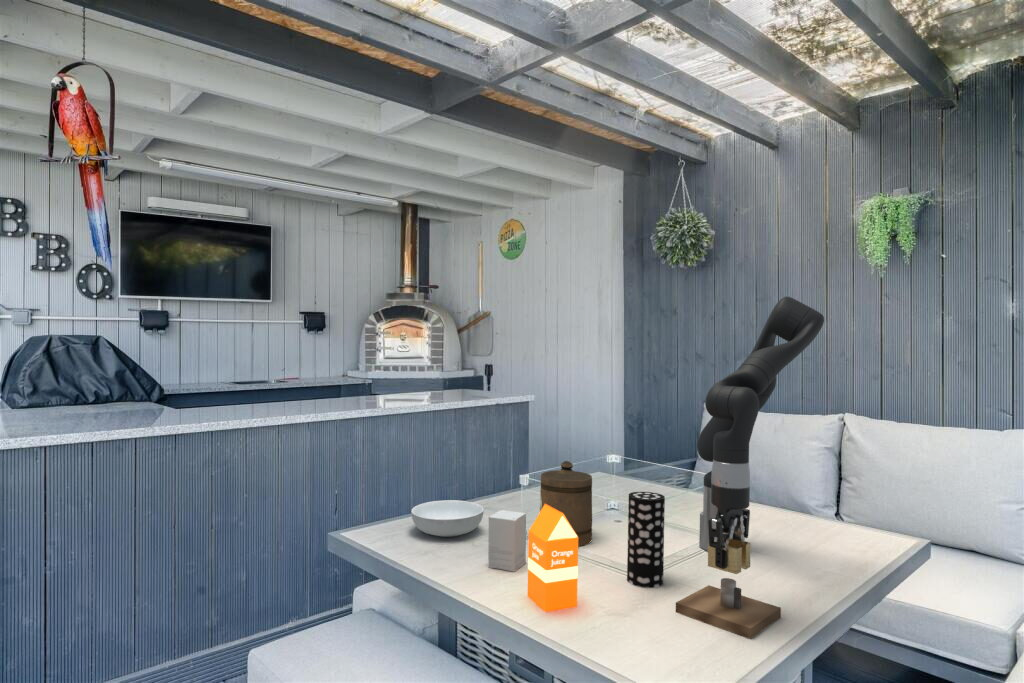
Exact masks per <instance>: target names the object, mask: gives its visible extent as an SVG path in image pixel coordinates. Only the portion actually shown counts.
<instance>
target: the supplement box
mask: <svg viewBox="0 0 1024 683" xmlns="http://www.w3.org/2000/svg"><path fill="white" fill-rule="evenodd" d="M526 545H527V513H525V512H518V511H510V510H503V509H499V510H498V511H496V512H495V513H493V514H491V515H489V516H488V551H487V552H488V560H487V561H488V563H487V564H488V568H490V569H497V570H502V571H508V572H512V573H513V572H516V571H517V570H519V569H520V568H522V566H524V565H525V564H526V561H527V560H526V557H527V555H526V554H527V553H526V552H527V550H526V548H527V546H526Z"/></svg>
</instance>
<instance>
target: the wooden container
mask: <svg viewBox="0 0 1024 683" xmlns="http://www.w3.org/2000/svg"><path fill="white" fill-rule="evenodd" d="M560 467H561V469H559V470H549V471H544V472H542V473H541V474H540V490H539V491H540V496H539V512H540V511H541V510H542V508H543V506H544V505H545V504H547V505H549V506H550V507H552V508H554V509H556V510H558V511H560V512H562V513H563V514H564V516H565V517H566V519H567V520H568V522H569V524H570V525H571V527H572V528H573V530H574V531H575V533H576V535H577V536H578V548H579V547H583V545H584V546H586V545H585V544H587V545H589V544H590V543H591V542H592V541H591V540H593V477H592V475H591V474H589V473H586V472H582V471H577V470H576V471H575V470H573V467H574V465H573V463H572V462H571V461H568V460H567V461H566V460H565V461H562V462H561V463H560ZM590 541H591V542H590ZM589 542H590V543H589ZM588 543H589V544H588Z"/></svg>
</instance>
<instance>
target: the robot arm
mask: <svg viewBox="0 0 1024 683" xmlns="http://www.w3.org/2000/svg"><path fill="white" fill-rule="evenodd" d="M824 322H825V317H824V315H823V314H822V313H821V312H819V311H817V310H816V309H815V308H813V307H810V306H809V305H807V304H805V303H803V302H801V301H800V300H797V299H795V298H793V297H791V296H784V297H782V298H780V300H778V301H777V303H776V304H775V306H774V307H773V309H772V310H771V311H770V313H769V316H768V318H767V319H766V322H765V324H764V325H763V326H764V327H763V328H762V330H761V332H760V334H759V336H758V339H757V341H756V343H755V345H754V346H753V349H752V350H751V352H750V354H749V356H747V357H746V358H745V360H744V361H743V362H742V363H741V364H740V365H739V367H738V368H737V369H736V371H734V372H732V373H730V374H728V375H727V376H725V377H724V378H722V379H720V380H719V381H718V382H716V383H714V384H713V386H711V388H710V389H709V390H708V392H707V394H706V396H705V401H704V402H705V403H704V406H705V410H706V411H707V413H708V415H710V416H711V418H710V419H709V421H708V422H707V423H706V425H705V426H704V428H703V429H702V430H701V432H700V434H699V436H698V439H697V445H696V449H697V453H698V456H700V458H701V459H703V461H706V462H710V463H712V465H711V471H709V472H707V473H705V474H704V476H703V490H702V492H703V494H702V495H703V497H702V500H703V501H702V502H703V503H702V504H703V506H702V510H703V511H702V512H700V513H699V535H698V536H699V539H698V541H699V545H698V546H699V548H700V549H702V550H704V551H706V552H708V542H709V546H710V547H713V548H715V549H716V550H715V565H716V567H718V568H722V569H725V568H726V567H727V548H728V543H729V540H731V539H732V538H733V539H737V540H741V541H746V540H745V538H746V539H748V537H749V533H750V532H749V529H750V518H751V511H750V509H747V508H749V507H750V499H751V498H750V493H751V490H750V489H751V487H750V486H751V485H750V484H751V472H750V471H751V470H750V442H751V438H752V434H753V431H754V428H755V424H756V421H757V418H758V414H759V411H760V410H762V408H764V406H765V405H766V403H767V402H768V400H769V399H770V397H771V396H772V393H773V392H774V391H775V389H776V387H777V386H776V385H777V376H778V375H779V373H780V372H781V371H782V370H784V368H785V367H786V366H788V365H789V364H790V363H791V362H792V361H794V359H796V358H797V357H798V356H799V355H800V354H801V353H802V352H803V351H804V350H805V349H807V347H809V345H811V343H813V341H814V340H815V339H816V337H817V336H818V335H819V333H820V331H821V329H822V328H823V325H824ZM776 337H779V338H781V339H783V340H784V341H787V342H784V343H780V344H777V345H775V342H776ZM723 538H724V543H723ZM714 539H715V541H714Z"/></svg>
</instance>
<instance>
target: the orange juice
mask: <svg viewBox="0 0 1024 683" xmlns="http://www.w3.org/2000/svg"><path fill="white" fill-rule="evenodd" d="M527 548H528V549H527V551H528V553H527V597H528V598H529V599H530V600H531V601H532V602H533V603H535V605H537V606H538V607H539V608H540V609H541V610H542V611H544V612H545V613H549V612H554V611H559V610H565V609H572V608H577V607H578V578H579V562H578V561H579V547H578V536H577V535H576V533H575V531H574V530H573V528H572V527H571V525H570V524H569V522H568V520H567V519H566V517H565V516H564V514H563V513H562V512H560V511H558V510H556V509H554V508H552V507H550V506H549V505H547V504H545V505H544V506H543V508H542V510H541V511H540V510H539V513H538V515H537V517H536V518H535V520H534V521H533V522H532V525H531V526H530V527H529V529H528V547H527Z"/></svg>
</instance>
